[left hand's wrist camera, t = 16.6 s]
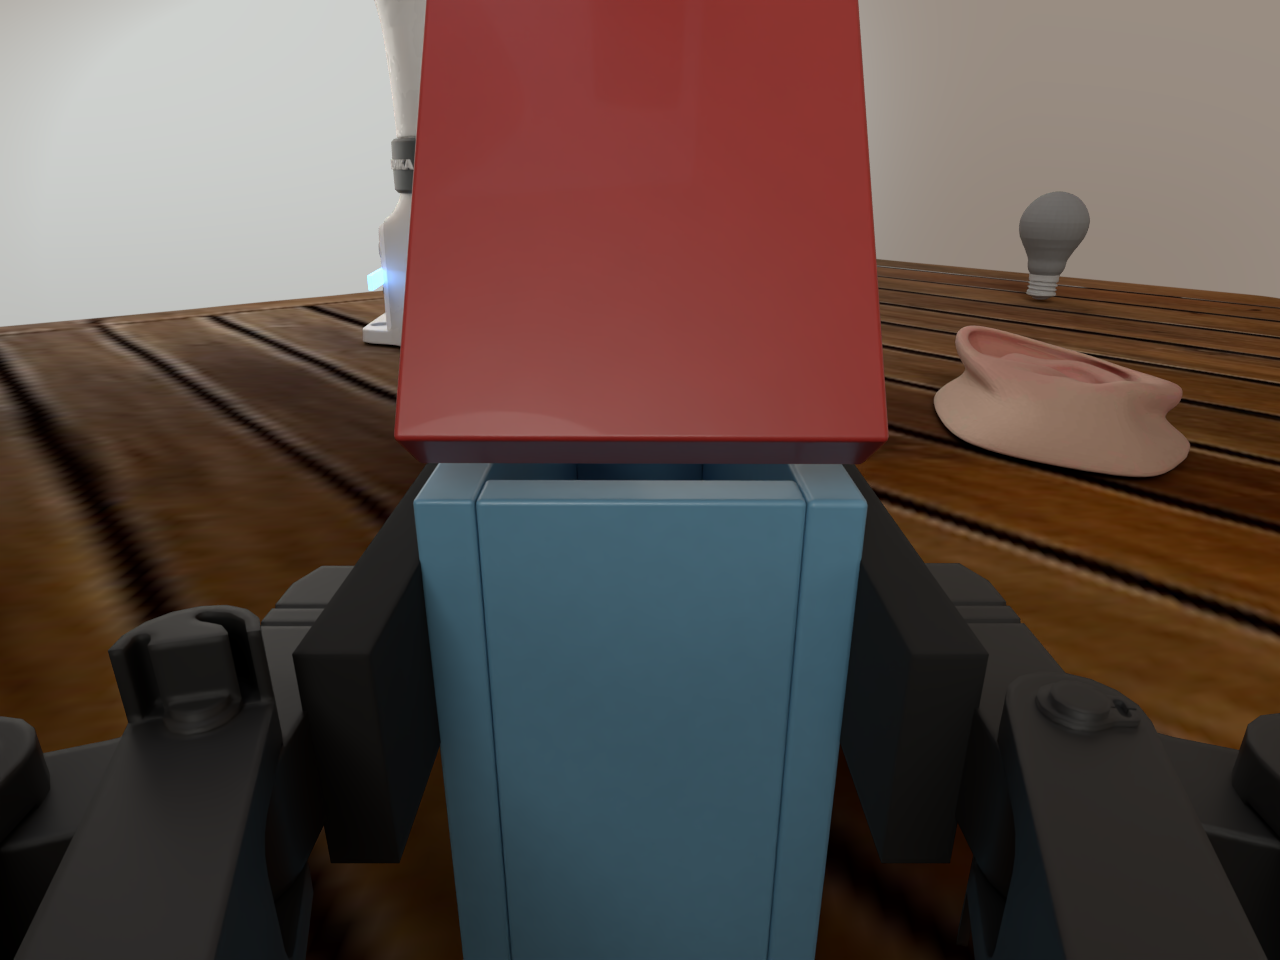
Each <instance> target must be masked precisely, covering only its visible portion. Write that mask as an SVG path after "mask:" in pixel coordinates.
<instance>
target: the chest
mask: <svg viewBox="0 0 1280 960" xmlns="http://www.w3.org/2000/svg"><path fill="white" fill-rule="evenodd" d="M413 506H414V515H415V524H416V533H417V542H418V551H419V560H420V563H421V572H422V581H423V590H424V598H425V607H426V616H427V625H428V634H429V643H430V652H431V660H432V669H433V678H434V687H435V696H436V705H437V714H438V722H439V731H440V740H441V743H440V750H441V759H442V769H443V778H444V787H445V796H446V805H447V814H448V823H449V832H450V841H451V850H452V859H453V868H454V877H455V886H456V895H457V904H458V913H459V922H460V932H461V941H462V950H463V959H464V960H815V951H816V943H817V934H818V926H819V917H820V909H821V900H822V892H823V883H824V875H825V866H826V858H827V849H828V841H829V832H830V824H831V815H832V807H833V798H834V790H835V781H836V773H837V764H838V755H839V747H840V735H841V726H842V717H843V709H844V700H845V691H846V683H847V674H848V665H849V656H850V648H851V639H852V630H853V621H854V613H855V604H856V595H857V586H858V577H859V569H860V561H861V559H862V551H863V542H864V534H865V525H866V517H867V508H868V505H867V502H866V500H865V498H864V497H863V495H862V494H861V492H860V491H859V489H858V488H857V486H856V485H855V483H854V482H853V480H852V479H851V477H850V476H849V474H848V473H847V471H846V470H845V468H844V467H843V465H842V464H596V463H439V464H438V465H437V467H436V468H435V470H434V471H433V473H432V474H431V476H430V477H429V479H428V480H427V482H426V483H425V485H424V486H423V488H422V489H421V491H420V492H419V494H418V495H417V497H416V498H415V500H414V502H413Z"/></svg>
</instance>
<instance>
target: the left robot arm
mask: <svg viewBox="0 0 1280 960" xmlns="http://www.w3.org/2000/svg"><path fill="white" fill-rule="evenodd" d="M438 464H439V463H427V465H426V466H425V467H424V469H423V470H422V472H421V473H420V474H419V476H418V477H417V479H416V480H415V481H414V483H413V484H412V486H411V487H410V488H409V490H408V491H407V493H406V494H405V496H404V497H403V498H402V500H401V501H400V503H399V504H398V505H397V507H396V508H395V510H394V511H393V512H392V514H391V515H390V517H389V518H388V519H387V521H386V522H385V524H384V525H383V527H382V528H381V529H380V531H379V532H378V534H377V535H376V536H375V538H374V539H373V541H372V542H371V543H370V545H369V546H368V548H367V549H366V551H365V552H364V553H363V555H362V556H361V558H360V559H359V560H358V562H357V563H356V565H355V566H321V567H319V568H318V569H316V570H315V571H313V572H311V573H310V574H308V575H306V576H305V577H303V578H301V579H300V580H298V581H296V582H295V583H293V584H292V585H291V586H290V588H289V589H288V590H287V591H286V592H285V594H284V595H283V596H282V597H281V598H280V600H279V601H278V602H277V603H276V607H275V609H271V611H270V612H269V613H268V614H267V615H266V617H265V618H264V619H263V620H262V621H261V626H260V621H259V618H258V617H257V616H256V615H254V614H253V613H252V612H250V611H249V610H247V609H243V608H238V607H233V606H228V605H219V606H199V607H195V608H190V609H185V610H180V611H175V612H171V613H169V614H166V615H163V616H161V617H158V618H155V619H153V620H150V621H147V622H145V623H143V624H141V625H140V626H138V627H136V628H135V629H133V630H131V631H129V632H128V633H126V634H124V635H123V636H122V637H121V638H120V639H119V640H118V641H117V642H116V643H115V644H114V645H113V646H112V647H111V648H110V649H109V650H108V653H109V656H110V660H111V663H112V667H113V670H114V674H115V677H116V681H117V684H118V688H119V691H120V695H121V698H122V702H123V705H124V709H125V712H126V716H127V719H128V725H127V727H126V729H125V731H124V733H123V735H122V737H120V738H116V739H112V740H108V741H103V742H98V743H93V744H88V745H83V746H78V747H73V748H68V749H63V750H58V751H53V752H48V753H43V752H42V749H41V746H40V743H39V740H38V738H37V735H36V732H35V729H34V728H33V727H32V726H31V725H29V724H28V723H27V722H25V721H24V720H22V719H17V718H9V717H1V716H0V960H305V959H306V950H307V942H308V933H309V925H310V917H311V908H312V900H313V887H312V881H311V875H310V870H309V865H308V860H307V859H308V857H309V855H310V853H311V851H312V849H313V846H314V844H315V842H316V840H317V838H318V836H319V834H320V832H321V830H322V828H323V826H324V828H325V833H326V839H327V844H328V849H329V855H330V860H331V863H399V862H400V860H401V857H402V854H403V851H404V848H405V845H406V842H407V839H408V836H409V833H410V830H411V828H412V825H413V822H414V819H415V816H416V813H417V810H418V807H419V804H420V801H421V798H422V796H423V793H424V790H425V787H426V784H427V781H428V778H429V775H430V772H431V769H432V766H433V764H434V761H435V758H436V755H437V752H438V749H439V746H440V743H441V740H440V731H439V722H438V714H437V705H436V696H435V687H434V678H433V669H432V660H431V652H430V643H429V634H428V625H427V616H426V607H425V598H424V590H423V581H422V572H421V563H420V560H419V551H418V542H417V533H416V524H415V515H414V506H413V502H414V500H415V498H416V497H417V495H418V494H419V492H420V491H421V489H422V488H423V486H424V485H425V483H426V482H427V480H428V479H429V477H430V476H431V474H432V473H433V471H434V470H435V468H436V467H437V465H438ZM842 465H843V467H844V468H845V470H846V471H847V473H848V474H849V476H850V477H851V479H852V480H853V482H854V483H855V485H856V486H857V488H858V489H859V491H860V492H861V494H862V495H863V497H864V498H865V500H866V502H867V505H868V508H867V517H866V525H865V534H864V542H863V551H862V559H861V561H860V569H859V577H858V586H857V595H856V604H855V613H854V621H853V630H852V639H851V648H850V656H849V665H848V674H847V683H846V691H845V700H844V709H843V717H842V726H841V735H840V744H841V747H842V750H843V752H844V755H845V758H846V761H847V764H848V767H849V770H850V773H851V776H852V779H853V782H854V784H855V787H856V790H857V793H858V796H859V799H860V802H861V805H862V808H863V811H864V813H865V816H866V819H867V822H868V825H869V828H870V831H871V834H872V837H873V840H874V843H875V845H876V848H877V851H878V854H879V857H880V860H881V863H950V859H951V854H952V849H953V843H954V838H955V833H956V828H957V822H958V824H959V826H960V828H961V830H962V832H963V834H964V836H965V838H966V840H967V843H968V845H969V847H970V849H971V851H972V853H973V860H972V865H971V870H970V875H969V880H968V885H967V889H966V894H965V899H964V904H963V909H962V914H961V919H960V924H959V930H958V937H957V943H956V944H957V945H961V946H966V947H967V946H968V941H969V936H970V931H972V940H973V948H974V956H975V960H1280V713H1278V714H1269V715H1261V716H1259V717H1258V718H1257V719H1255V720H1254V721H1252V722H1251V723H1250V724H1248V726H1247V729H1246V732H1245V735H1244V738H1243V741H1242V744H1241V747H1240V750H1236V749H1231V748H1226V747H1221V746H1216V745H1211V744H1206V743H1201V742H1196V741H1191V740H1185V739H1180V738H1175V737H1171V736H1167V735H1163V734H1160V733H1157V732H1156V730H1155V728H1154V726H1153V723H1152V722H1151V720H1150V719H1149V718H1148V717H1147V715H1146V714H1145V713H1144V712H1143V710H1142V709H1141V708H1140V707H1139V705H1137V704H1136V703H1134V702H1133V701H1131V700H1130V699H1129V698H1127V697H1126V696H1124V695H1123V694H1121V693H1120V692H1118V691H1117V690H1115V689H1112V688H1110V687H1108V686H1106V685H1103V684H1101V683H1099V682H1096V681H1094V680H1092V679H1088V678H1084V677H1080V676H1076V675H1071V674H1067V673H1065V672H1064V671H1063V670H1062V668H1061V667H1060V666H1059V665H1058V664H1057V662H1056V661H1055V660H1054V659H1053V658H1052V656H1051V655H1050V654H1049V653H1048V652H1047V650H1046V649H1045V648H1044V647H1043V646H1042V644H1041V643H1040V642H1039V641H1038V640H1037V638H1036V637H1035V636H1034V635H1033V634H1032V632H1031V631H1030V630H1029V629H1028V628H1027V626H1026V625H1025V624H1024V623H1020V618H1019V617H1018V616H1017V614H1016V613H1015V612H1014V611H1013V610H1012V608H1011V607H1010V606H1006V601H1005V600H1004V599H1003V598H1002V596H1001V595H1000V594H999V593H998V592H997V590H996V589H995V588H994V587H993V586H992V584H991V583H990V582H989V581H988V580H986V579H984V578H983V577H981V576H979V575H978V574H976V573H974V572H973V571H971V570H969V569H968V568H966V567H964V566H963V565H961V564H960V563H924V562H923V561H922V559H921V558H920V556H919V555H918V553H917V552H916V551H915V549H914V548H913V546H912V545H911V544H910V542H909V541H908V539H907V538H906V537H905V535H904V534H903V532H902V531H901V530H900V528H899V527H898V525H897V524H896V522H895V521H894V520H893V518H892V517H891V515H890V514H889V513H888V511H887V510H886V508H885V507H884V506H883V504H882V503H881V501H880V500H879V499H878V497H877V496H876V494H875V493H874V491H873V490H872V489H871V487H870V486H869V484H868V483H867V482H866V480H865V479H864V477H863V476H862V475H861V473H860V472H859V470H858V469H857V468H856V466H855V465H854V464H842Z"/></svg>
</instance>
